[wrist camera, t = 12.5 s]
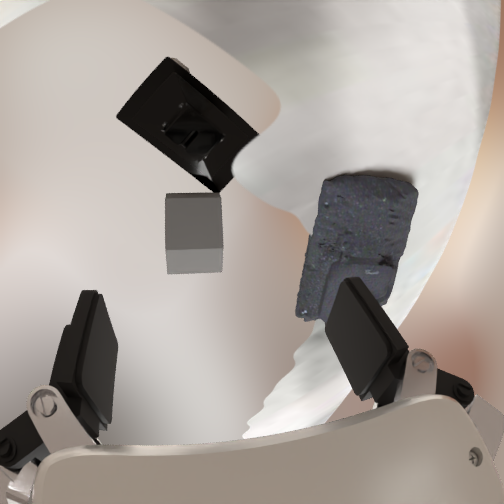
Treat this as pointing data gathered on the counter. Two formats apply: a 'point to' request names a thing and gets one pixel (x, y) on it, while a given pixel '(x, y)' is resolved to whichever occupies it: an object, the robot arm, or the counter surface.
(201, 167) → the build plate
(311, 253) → the dark grey rough slab
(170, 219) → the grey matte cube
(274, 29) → the counter surface
